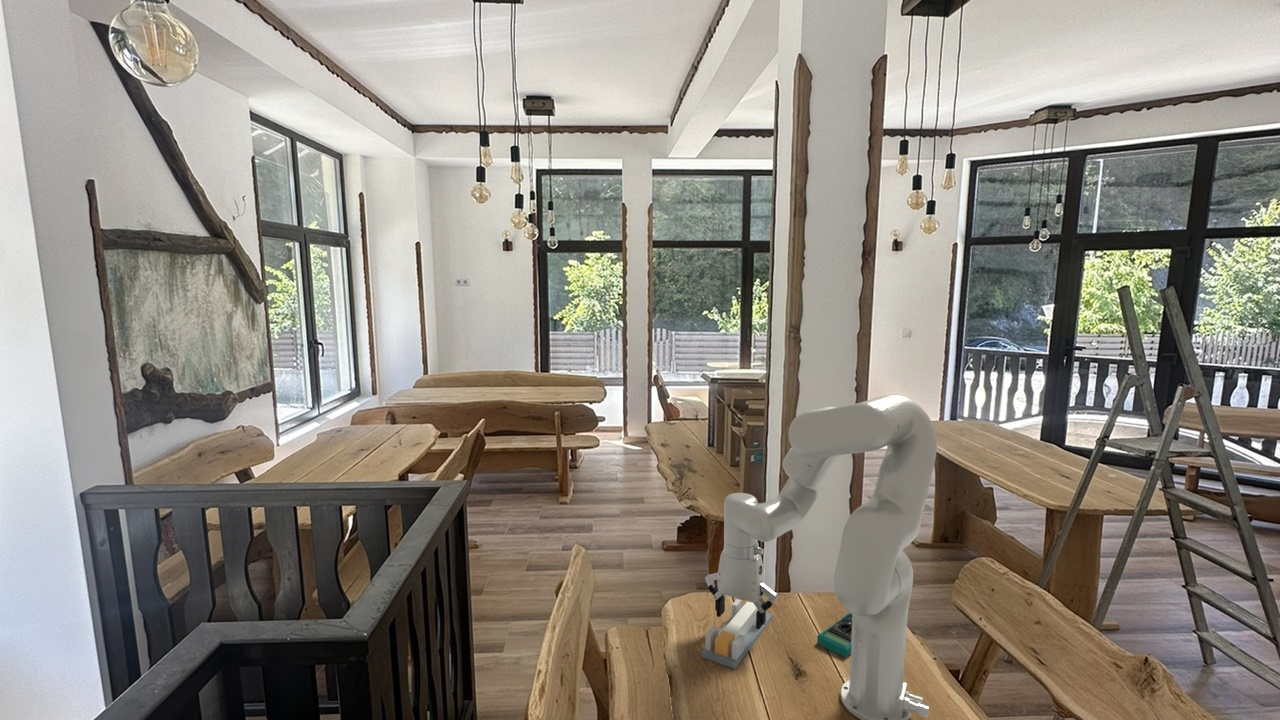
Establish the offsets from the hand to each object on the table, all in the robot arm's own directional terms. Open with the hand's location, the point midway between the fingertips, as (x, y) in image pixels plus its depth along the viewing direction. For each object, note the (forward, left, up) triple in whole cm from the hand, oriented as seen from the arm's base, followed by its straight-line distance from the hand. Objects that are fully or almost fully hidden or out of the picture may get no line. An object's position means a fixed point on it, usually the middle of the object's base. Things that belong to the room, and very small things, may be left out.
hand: (739, 620), depth 134 cm
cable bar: (0, 0, -3) cm, 3 cm away
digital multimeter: (-21, -13, -5) cm, 25 cm away
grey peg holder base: (0, 0, -4) cm, 4 cm away
